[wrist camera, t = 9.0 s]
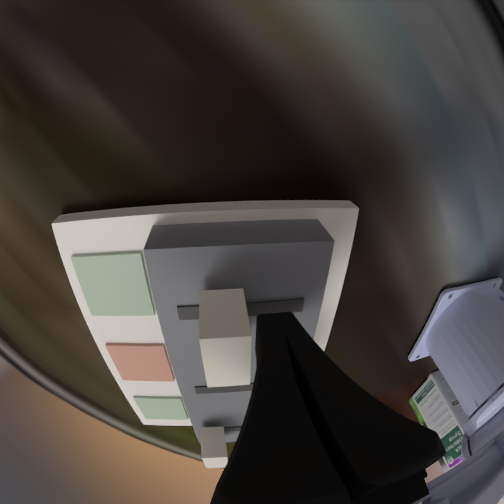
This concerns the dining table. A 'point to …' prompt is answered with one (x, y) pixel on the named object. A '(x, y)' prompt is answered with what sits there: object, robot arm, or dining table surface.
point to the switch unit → (192, 282)
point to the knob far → (213, 447)
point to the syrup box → (441, 416)
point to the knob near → (225, 337)
